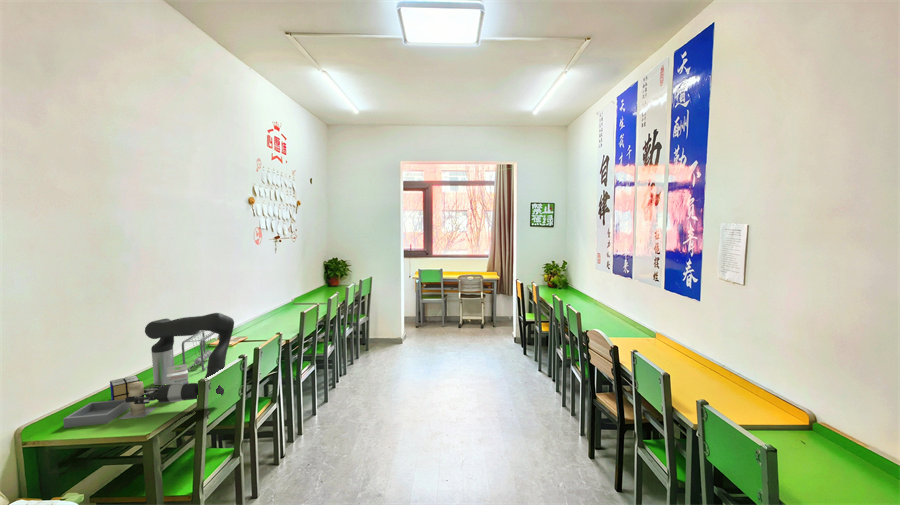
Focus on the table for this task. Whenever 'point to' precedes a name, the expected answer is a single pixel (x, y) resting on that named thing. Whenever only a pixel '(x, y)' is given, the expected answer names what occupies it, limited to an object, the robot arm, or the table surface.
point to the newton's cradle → (203, 355)
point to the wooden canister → (136, 390)
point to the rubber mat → (147, 411)
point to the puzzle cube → (121, 387)
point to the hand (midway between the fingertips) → (130, 396)
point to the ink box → (177, 375)
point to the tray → (96, 413)
